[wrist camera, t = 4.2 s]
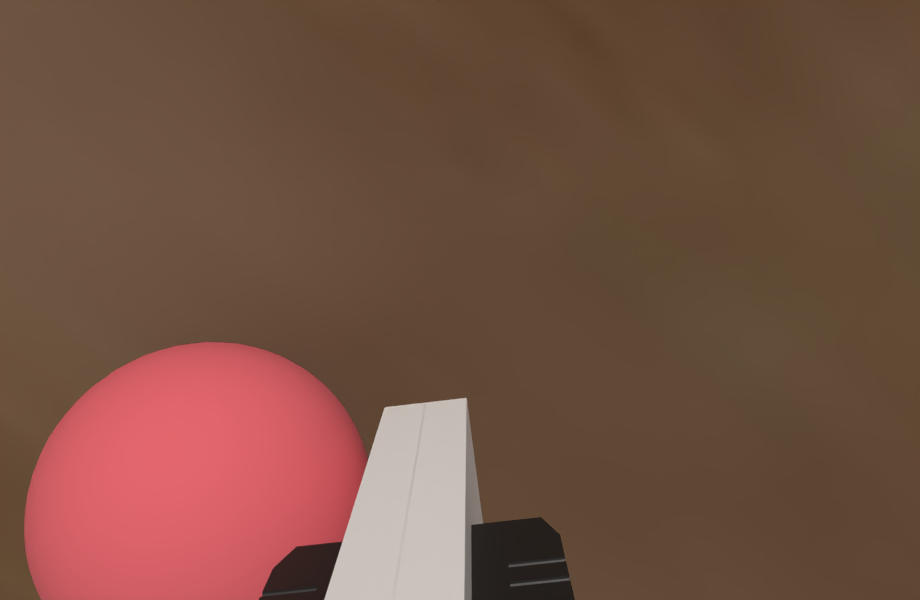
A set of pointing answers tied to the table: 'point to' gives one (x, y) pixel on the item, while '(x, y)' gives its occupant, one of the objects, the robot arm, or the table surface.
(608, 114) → the table surface
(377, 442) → the robot arm
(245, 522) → the ball
